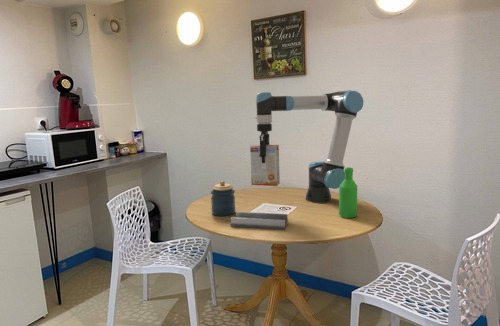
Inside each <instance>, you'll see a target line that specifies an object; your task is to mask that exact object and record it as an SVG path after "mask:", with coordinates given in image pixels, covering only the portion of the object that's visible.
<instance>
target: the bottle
mask: <svg viewBox="0 0 500 326" xmlns="http://www.w3.org/2000/svg"><path fill="white" fill-rule="evenodd" d="M344 172H345V179H344V180H343V182H342V183H341V185H340V186H339V188H338V190H339V193H338V194H339V195H338V202H339V203H338V215H339V216H340V217H341V218H345V219H353V217H354V218H356V217H357V215H358V185H357V184H356V181H354V178H353V177H354V176H353V175H354V168H353V167H344Z"/></svg>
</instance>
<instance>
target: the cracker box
mask: <svg viewBox="0 0 500 326" xmlns="http://www.w3.org/2000/svg"><path fill="white" fill-rule="evenodd" d="M249 149H250V150H249V151H250V175H251V178H250V179H251V181H250V182H251V186H263V187H264V186H268V187H278V186H279V185H280V183H281V181H280V145H279V144H269V145H266V160H267V169H261V157H259V155H260V144H252V145H250V148H249Z"/></svg>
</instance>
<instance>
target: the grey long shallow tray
mask: <svg viewBox="0 0 500 326" xmlns="http://www.w3.org/2000/svg"><path fill="white" fill-rule="evenodd" d="M288 221H289V218H288V213H272V212H271V213H269V212H256V211H255V212H253V211H252V212H251V211H250V212H249V211H235V216H232V217H230V227H235V228H246V229H247V228H249V229H265V230H266V229H267V230H281V231H284V230H285V229H286V227H287V225H288V223H289V222H288Z"/></svg>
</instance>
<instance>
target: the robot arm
mask: <svg viewBox="0 0 500 326" xmlns="http://www.w3.org/2000/svg"><path fill="white" fill-rule="evenodd" d="M255 97H256V98H255V100H256V101H255V103H256V117H255V119H256V122H257V124H256V131H257V132H260V133H261V134H260V135H259V145H260V155H259V157H261V169H267V160H266V145H270V133H269V132H271V131H272V130H273V124H272V123H273V120H272V119H273V117H272V112H288V111H298V110H299V111H301V110H302V111H303V110H305V111H306V110H321V111H325V112H326V111H327V112H328V111H329V112H334V115H335V116H336V120H335V124H334V128H333V133H332V135H331V140H330V144H329V145H330V146H329V150H328V154H327V157H326V160H324V161H311V162H309V164H308V188H307V191H306V194H305V200H306V201H307V202H311V203H318V204H320V203H322V204H323V203H329V202H331V201H332V194H331V190H330V189H333V190H335V189H336V190H337V189H339V186H340V185H341V183H342V182H343V180H344V179H345V171H344V170H345V168H346V167H345V164H344V157H345V154H346V149H347V145H348V142H349V141H348V140H349V137H350V131H351V128H352V123H353V120H355V119H356V118H357V115H358V112H360V111H361V110H362V109H363V107H364V97H363V96H362V94H361V93H360V92H358V91H357V90H341V91H335V92H330V93H329V92H328V93H322V94H321V95H297V96H295V95H293V96H291V95H277V96H275V95H272V92H269V91H268V92H267V91H265V92H262V91H261V92H258V93H257V94H256V96H255Z"/></svg>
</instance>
